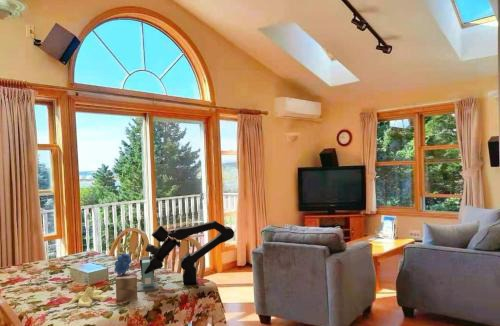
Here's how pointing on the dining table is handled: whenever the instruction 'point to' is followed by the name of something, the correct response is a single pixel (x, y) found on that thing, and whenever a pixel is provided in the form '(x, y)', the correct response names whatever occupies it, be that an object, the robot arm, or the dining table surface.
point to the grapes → (122, 263)
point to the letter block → (149, 276)
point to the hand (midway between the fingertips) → (144, 272)
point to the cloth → (89, 297)
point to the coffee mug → (141, 262)
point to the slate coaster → (141, 288)
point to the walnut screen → (126, 288)
